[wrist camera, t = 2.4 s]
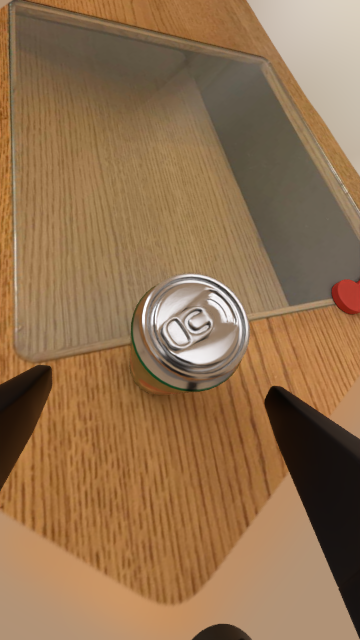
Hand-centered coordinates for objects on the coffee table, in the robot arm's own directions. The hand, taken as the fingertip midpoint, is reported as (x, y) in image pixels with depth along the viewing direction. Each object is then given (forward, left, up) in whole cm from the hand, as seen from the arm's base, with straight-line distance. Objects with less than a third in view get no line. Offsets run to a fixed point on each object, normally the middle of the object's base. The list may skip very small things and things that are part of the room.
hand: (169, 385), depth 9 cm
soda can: (+2, -2, -11) cm, 11 cm away
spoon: (+2, -31, -10) cm, 33 cm away
